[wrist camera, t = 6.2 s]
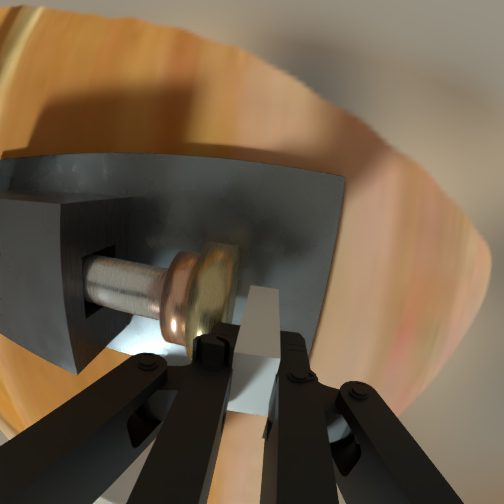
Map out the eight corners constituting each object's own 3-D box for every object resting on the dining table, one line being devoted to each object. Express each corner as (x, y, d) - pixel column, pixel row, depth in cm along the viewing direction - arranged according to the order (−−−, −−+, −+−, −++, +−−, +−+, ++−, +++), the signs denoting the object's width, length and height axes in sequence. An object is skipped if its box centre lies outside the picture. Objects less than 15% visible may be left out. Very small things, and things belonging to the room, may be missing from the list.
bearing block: (341, 177, 18) (392, 168, 9) (298, 380, 21) (305, 460, 13) (-1, 160, 19) (-58, 162, 11) (4, 297, 23) (-44, 322, 14)
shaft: (243, 236, 17) (225, 263, 11) (231, 330, 19) (213, 391, 12) (17, 207, 18) (-36, 216, 12) (20, 275, 20) (-27, 295, 13)
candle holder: (109, 395, 24) (52, 471, 12) (196, 421, 23) (162, 520, 11) (123, 446, 26) (87, 512, 14) (197, 468, 25) (174, 546, 14)
